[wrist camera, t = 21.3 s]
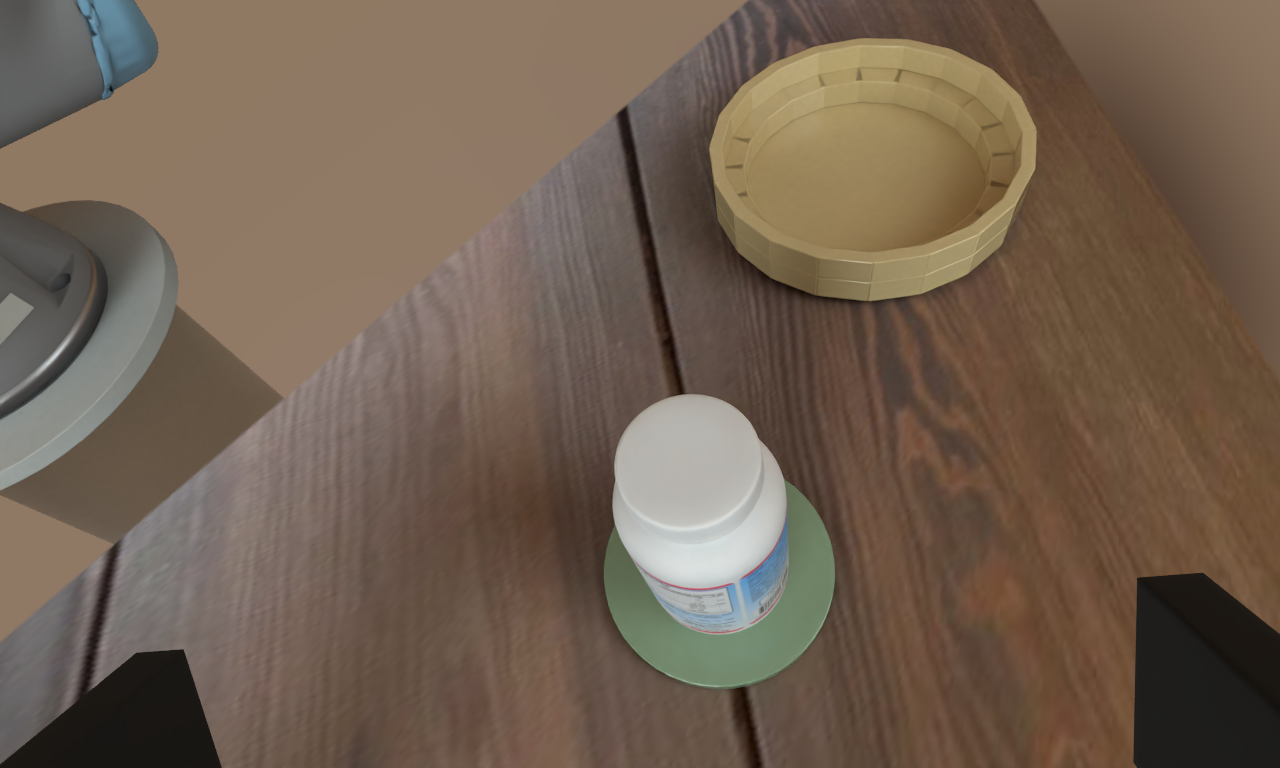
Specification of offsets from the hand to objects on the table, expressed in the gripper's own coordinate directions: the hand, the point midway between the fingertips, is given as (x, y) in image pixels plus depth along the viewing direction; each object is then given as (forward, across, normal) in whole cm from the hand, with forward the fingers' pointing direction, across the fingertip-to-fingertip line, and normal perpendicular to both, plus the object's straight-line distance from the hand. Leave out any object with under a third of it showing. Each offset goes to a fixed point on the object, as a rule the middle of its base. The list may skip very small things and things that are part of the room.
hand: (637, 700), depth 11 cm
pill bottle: (+21, 0, -9) cm, 23 cm away
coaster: (+22, 0, -10) cm, 24 cm away
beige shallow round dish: (+37, +10, +5) cm, 38 cm away
